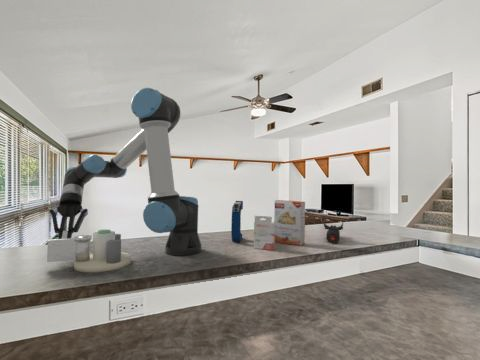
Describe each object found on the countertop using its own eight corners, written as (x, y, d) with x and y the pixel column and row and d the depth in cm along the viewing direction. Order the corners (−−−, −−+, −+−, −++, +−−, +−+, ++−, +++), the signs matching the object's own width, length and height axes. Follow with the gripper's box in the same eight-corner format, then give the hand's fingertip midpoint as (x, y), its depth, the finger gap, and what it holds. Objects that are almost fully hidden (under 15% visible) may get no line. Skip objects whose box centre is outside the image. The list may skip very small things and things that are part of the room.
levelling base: (130, 255, 108) (130, 224, 108) (132, 268, 92) (132, 231, 92) (77, 259, 101) (78, 226, 101) (69, 275, 84) (70, 235, 84)
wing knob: (91, 257, 97) (92, 234, 97) (90, 261, 92) (91, 237, 92) (49, 260, 92) (50, 237, 92) (45, 265, 87) (46, 240, 87)
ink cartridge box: (274, 247, 124) (275, 215, 124) (271, 250, 119) (272, 216, 120) (256, 246, 127) (257, 214, 127) (253, 248, 123) (253, 215, 123)
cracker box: (273, 242, 136) (274, 200, 136) (278, 240, 141) (279, 199, 141) (300, 246, 128) (300, 201, 128) (304, 244, 133) (305, 201, 133)
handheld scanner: (243, 237, 146) (243, 200, 147) (240, 244, 130) (240, 203, 131) (234, 237, 147) (234, 200, 147) (231, 243, 131) (230, 202, 131)
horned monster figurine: (342, 237, 153) (343, 219, 153) (343, 245, 132) (343, 225, 132) (324, 235, 156) (324, 218, 156) (322, 243, 135) (322, 223, 135)
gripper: (90, 203, 116) (85, 252, 101) (53, 204, 111) (42, 255, 95) (89, 191, 111) (83, 240, 96) (51, 191, 106) (38, 243, 91)
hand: (63, 248), depth 96 cm, fingers closed
